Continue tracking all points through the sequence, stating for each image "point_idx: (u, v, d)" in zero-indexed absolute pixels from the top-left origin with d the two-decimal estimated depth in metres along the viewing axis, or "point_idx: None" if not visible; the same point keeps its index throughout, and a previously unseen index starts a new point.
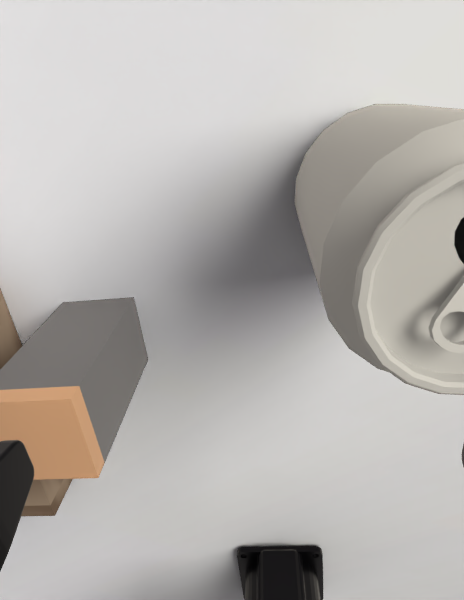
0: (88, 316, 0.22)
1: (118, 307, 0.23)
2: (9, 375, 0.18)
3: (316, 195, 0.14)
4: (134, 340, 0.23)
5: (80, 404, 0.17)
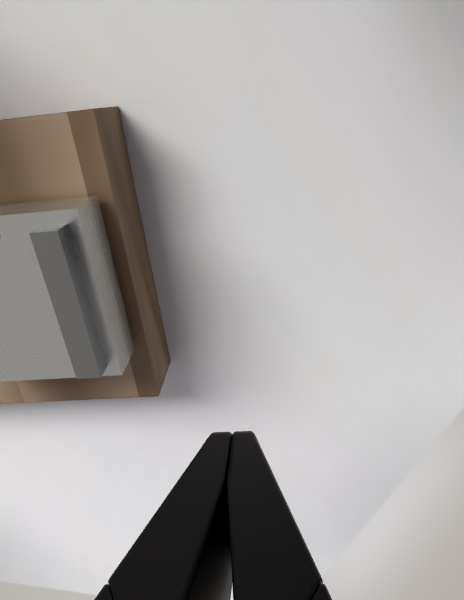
0: None
1: None
2: None
3: None
4: None
5: None
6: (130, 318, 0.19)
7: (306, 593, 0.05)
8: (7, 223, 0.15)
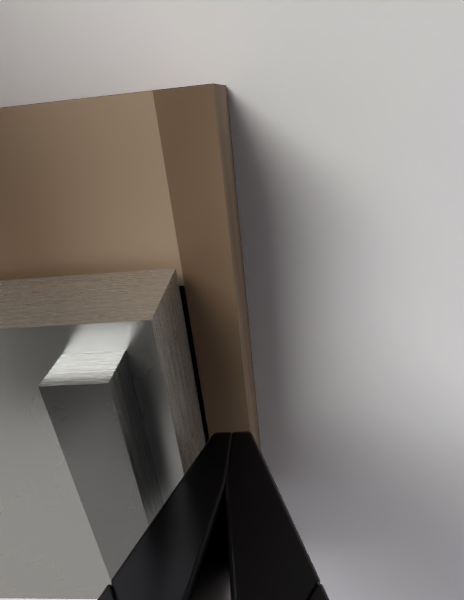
0: None
1: None
2: None
3: None
4: None
5: None
6: None
7: (303, 593, 0.05)
8: None
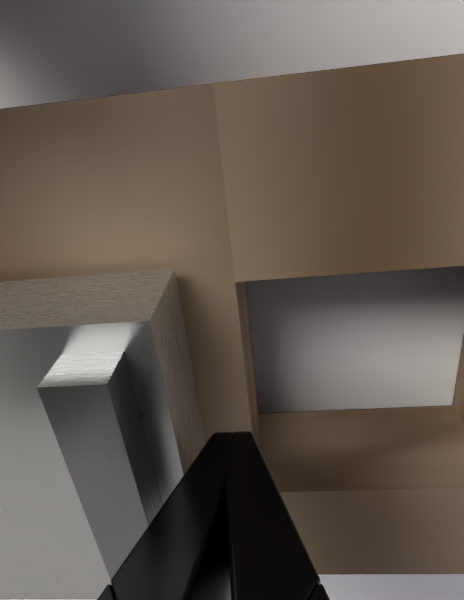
0: None
1: None
2: None
3: None
4: None
5: None
6: None
7: (304, 593, 0.05)
8: None
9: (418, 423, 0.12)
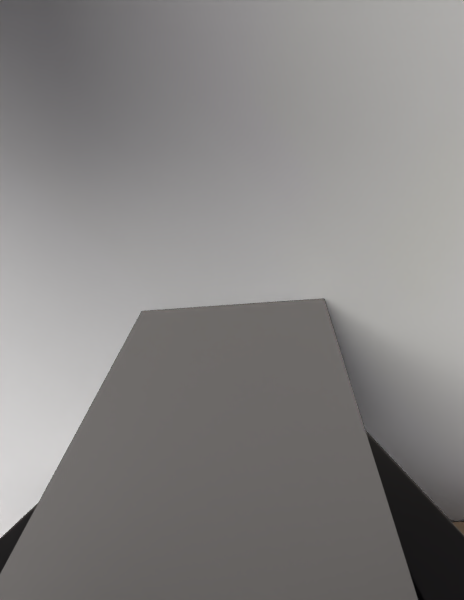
0: None
1: None
2: None
3: None
4: (221, 337, 0.08)
5: None
6: None
7: None
8: None
9: None
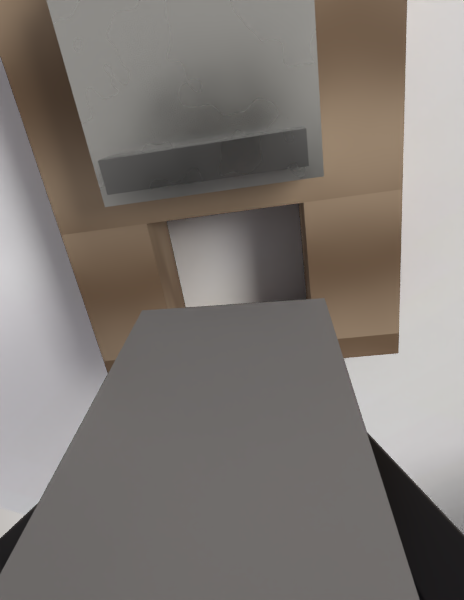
0: None
1: None
2: None
3: None
4: (221, 336, 0.08)
5: None
6: None
7: None
8: (308, 80, 0.12)
9: (181, 306, 0.20)
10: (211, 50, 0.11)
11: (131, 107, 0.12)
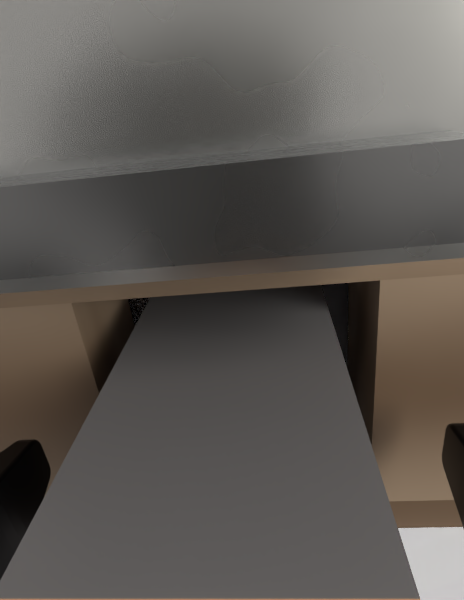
0: None
1: None
2: None
3: None
4: (228, 298, 0.10)
5: None
6: None
7: None
8: None
9: None
10: None
11: None
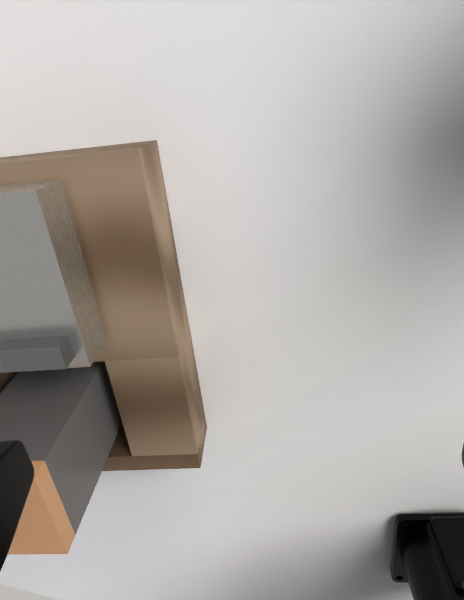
0: None
1: None
2: None
3: None
4: None
5: None
6: None
7: None
8: (64, 308, 0.16)
9: None
10: None
11: None
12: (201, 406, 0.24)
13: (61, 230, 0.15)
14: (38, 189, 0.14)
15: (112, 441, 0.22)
